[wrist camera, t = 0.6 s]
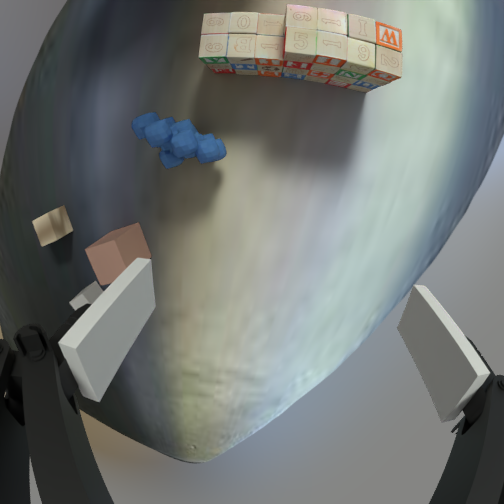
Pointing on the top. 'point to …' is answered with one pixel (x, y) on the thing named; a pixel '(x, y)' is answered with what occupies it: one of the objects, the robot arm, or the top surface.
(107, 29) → the top surface
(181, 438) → the top surface
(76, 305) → the off-white plastic block
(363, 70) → the stack of blocks
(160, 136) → the grapes
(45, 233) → the maple block
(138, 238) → the terracotta block
